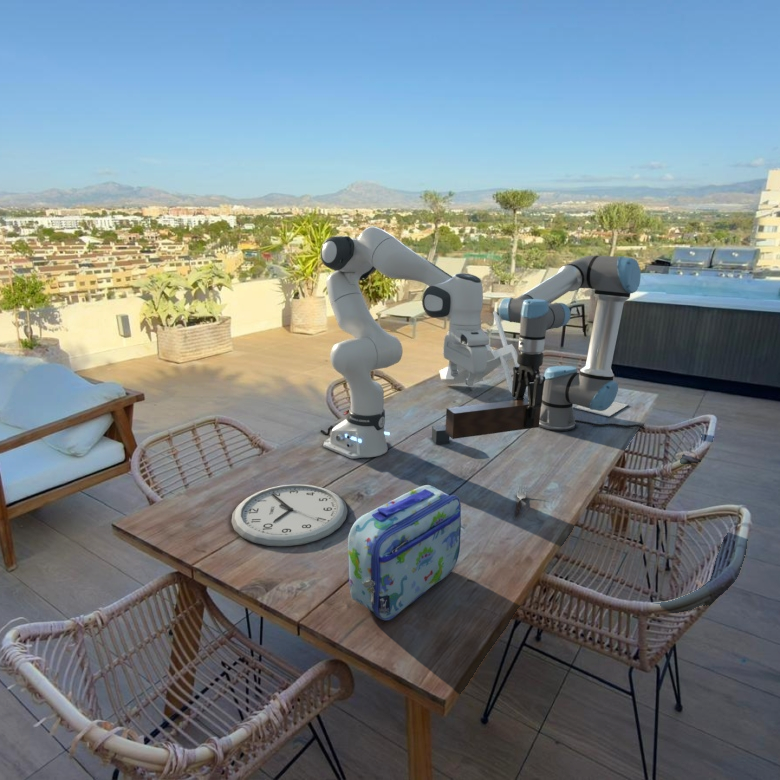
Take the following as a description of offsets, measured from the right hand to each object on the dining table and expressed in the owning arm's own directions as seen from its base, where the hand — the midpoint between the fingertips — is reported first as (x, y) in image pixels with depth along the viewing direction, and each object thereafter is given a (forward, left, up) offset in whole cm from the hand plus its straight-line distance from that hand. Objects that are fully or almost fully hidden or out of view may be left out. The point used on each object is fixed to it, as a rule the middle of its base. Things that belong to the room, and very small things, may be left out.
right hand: (523, 423), depth 164 cm
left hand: (+20, +11, +16) cm, 28 cm away
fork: (+3, +25, -15) cm, 29 cm away
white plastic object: (+9, -78, -15) cm, 80 cm away
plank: (+10, +5, -1) cm, 11 cm away
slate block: (+26, -17, -15) cm, 34 cm away
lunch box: (+31, +65, -15) cm, 74 cm away
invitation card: (-42, -66, -15) cm, 80 cm away
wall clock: (+64, +39, -15) cm, 76 cm away
